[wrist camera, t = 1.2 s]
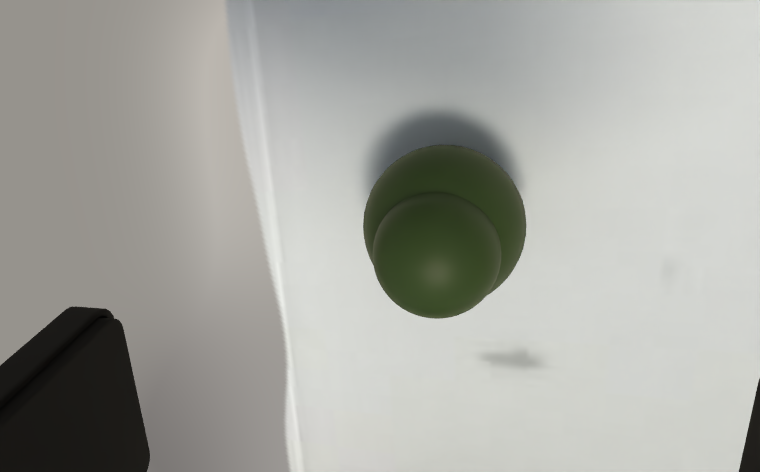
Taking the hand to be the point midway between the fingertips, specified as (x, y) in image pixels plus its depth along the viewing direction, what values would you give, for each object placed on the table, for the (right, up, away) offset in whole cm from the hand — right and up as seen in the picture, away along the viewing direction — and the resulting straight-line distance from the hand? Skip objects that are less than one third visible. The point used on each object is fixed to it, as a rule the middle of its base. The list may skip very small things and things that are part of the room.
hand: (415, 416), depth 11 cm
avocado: (+2, +4, +19) cm, 20 cm away
